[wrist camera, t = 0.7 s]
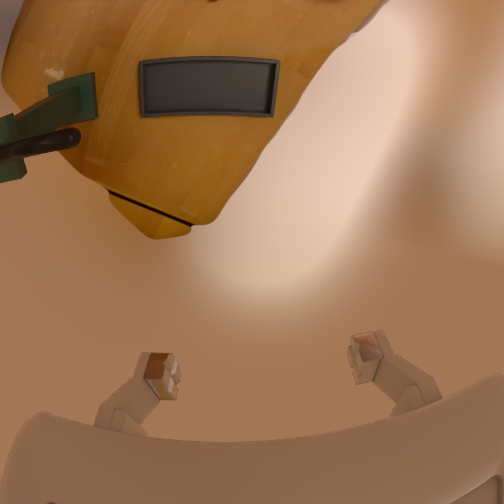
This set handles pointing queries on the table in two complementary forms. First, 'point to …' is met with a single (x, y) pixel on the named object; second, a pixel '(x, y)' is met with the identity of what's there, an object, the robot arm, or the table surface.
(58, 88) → the stand
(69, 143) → the scoop
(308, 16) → the table surface
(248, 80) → the tray
